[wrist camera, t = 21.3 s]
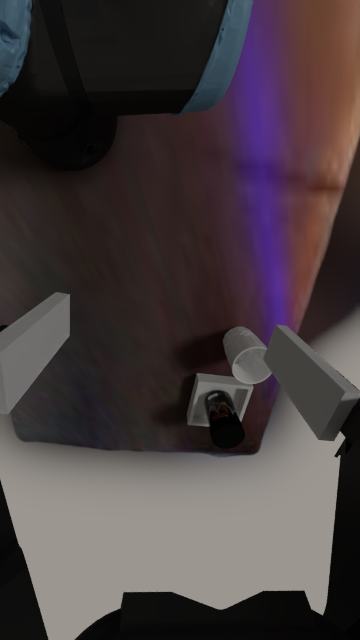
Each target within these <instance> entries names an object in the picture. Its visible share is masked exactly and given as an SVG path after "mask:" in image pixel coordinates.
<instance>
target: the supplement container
mask: <svg viewBox="0 0 360 640" xmlns="http://www.w3.org/2000/svg"><path fill="white" fill-rule="evenodd" d="M204 406H205V410H206V415H207V419H208V424H209V429H210V434H211V438H212V442H213V444H214V445H215V446H217V447H219V448H223V449H228V448H233V447H235V446H237V445H239V444H240V443H241V442H242V441H243V440H244V438H245V432H244V429H243V426H242V424H241V421H240V419H239V416H238V413H237V411H236V408H235V406H234V403H233V400H232V398H231V396H230V394H228V393H227V392H225V391H222V390H216V391H213V392H211V393H209V394H208V395H207V396H206V398H205V400H204Z"/></svg>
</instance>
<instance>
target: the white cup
mask: <svg viewBox="0 0 360 640" xmlns="http://www.w3.org/2000/svg"><path fill="white" fill-rule="evenodd" d="M223 346H224V349H225V353H226V356H227V359H228V362H229V365H230V367H231V370H232V373H233V375H234V377H235V378H236V379H237V380H238V381H240V382H242V383H245V384H256V383H259V382H262V381H264V380H265V379H267V378H268V377H269V376H270V375H271V373H272V372H271V371H270V369H269V368H268V366H267V365H266V363H265V362H264V360H263V358H264V355H265V353H266V350H267V347H266V346H265V345H264V344H263V343H262V342H261V341H260V340H259V339H258V338H257V337H256V336H255V335H254V334H253V333H252V332H251V331H250V330H249V329H247V328H245V327H235V328H232V329H230V330H229V331H228V332H227V333H226V334H225V336H224V338H223Z"/></svg>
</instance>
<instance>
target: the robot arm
mask: <svg viewBox="0 0 360 640" xmlns="http://www.w3.org/2000/svg"><path fill="white" fill-rule="evenodd" d="M252 4H253V0H0V120H1V121H3V122H4V123H6V124H8V125H9V126H11V127H12V129H13V131H14V132H15V134H16V135H17V137H18V138H19V139H20V141H21V142H22V143H23V144H24V145H25V146H26V147H27V148H28V149H29V150H30V151H31V152H32V153H33V154H35V155H36V156H37V157H39V158H40V159H42V160H44V161H45V162H47V163H49V164H51V165H53V166H56V167H59V168H62V169H67V170H81V169H85V168H88V167H91V166H93V165H94V164H96V163H97V162H99V161H100V160H101V159H102V158H103V157H104V156H105V155H106V153H107V152H108V150H109V149H110V147H111V145H112V142H113V140H114V137H115V133H116V127H117V116H121V115H142V114H164V113H172V115H174V116H180V115H182V114H184V113H187V112H197V111H205V110H208V109H210V108H212V107H213V106H215V104H217V103H218V102H219V101H220V100H221V99H222V97H223V96H224V94H225V93H226V91H227V89H228V87H229V85H230V83H231V80H232V78H233V75H234V73H235V70H236V67H237V64H238V61H239V58H240V55H241V51H242V47H243V44H244V40H245V36H246V32H247V28H248V23H249V19H250V14H251V9H252ZM69 329H70V294H64V293H57V292H56V293H54V294H53V295H52V296H50V297H49V298H47V299H46V300H45V301H43V302H42V303H40V304H39V305H38V306H36V307H35V308H34V309H32V310H31V311H29V312H28V313H27V314H25V315H24V316H22V317H21V318H20V319H18V320H17V321H15V322H14V323H13V324H11V325H10V326H8V325H2V326H0V414H6V415H8V414H9V412H10V411H11V410H12V409H13V407H14V406H15V405H16V403H17V402H18V401H19V400H20V398H21V397H22V396H23V394H24V393H25V392H26V391H27V389H28V388H29V387H30V385H31V384H32V383H33V382H34V380H35V379H36V378H37V376H38V375H39V374H40V373H41V371H42V370H43V369H44V367H45V366H46V365H47V364H48V362H49V361H50V360H51V358H52V357H53V356H54V355H55V353H56V352H57V351H58V350H59V348H60V347H61V346H62V344H63V343H64V342H65V341H66V339H67V338H68V337H69ZM263 360H264V362H265V363H266V365H267V366H268V368H269V369H270V371H271V372H272V373H273V375H274V376H275V378H276V379H277V381H278V382H279V383H280V385H281V386H282V388H283V389H284V391H285V392H286V394H287V395H288V396H289V398H290V399H291V401H292V402H293V404H294V405H295V406H296V408H297V409H298V411H299V412H300V414H301V415H302V416H303V418H304V419H305V421H306V422H307V424H308V425H309V426H310V428H311V429H312V431H313V432H314V434H315V435H316V437H317V438H318V439H319V440H327V441H334V440H335V438H336V437H337V434H338V433H339V431H341V433H342V434H343V435H344V436H345V437H346V438H345V440H344V441H343V443H342V445H341V446H340V448H339V449H338V451H337V453H336V454H335V457H338V456H339V455H341V458H340V468H339V478H338V489H337V500H336V511H335V523H334V533H333V544H332V554H331V565H330V575H329V586H328V597H327V604H326V608H325V611H324V614H323V615H321V614H319V613H317V612H315V611H313V610H311V607H310V605H309V602H308V600H307V597H306V594H305V591H262V592H260V593H258V594H256V595H254V596H252V597H250V598H248V599H246V600H243V601H241V602H239V603H237V604H235V605H233V606H230V607H228V608H226V609H223V610H218V609H215V608H213V607H210V606H207V605H204V604H202V603H199V602H197V601H194V600H192V599H189V598H186V597H184V596H181V595H178V594H175V593H173V592H124V593H123V598H122V604H121V608H120V609H118V610H116V611H113V612H111V613H109V614H107V615H105V616H103V617H102V618H100V619H99V620H97V621H95V622H94V623H93V624H92V625H90V626H89V627H88V628H87V629H86V630H84V631H83V632H82V633H81V634H80V635H79V636H78V637H77V638H76V639H75V640H360V391H359V390H358V389H357V388H356V387H355V386H354V385H353V384H351V383H350V382H349V381H348V380H347V379H345V377H344V376H342V375H341V374H340V373H339V372H338V371H337V370H335V369H334V368H333V367H332V366H331V365H329V364H328V363H327V362H326V361H325V360H324V359H323V358H322V357H320V356H319V355H318V354H317V353H316V352H315V351H314V350H312V349H311V348H310V347H309V346H308V345H307V344H306V343H305V342H304V341H303V340H301V339H300V338H299V337H298V336H297V335H296V334H295V333H294V332H293V331H291V330H290V329H289V328H288V327H287V326H282V325H275V328H274V331H273V334H272V336H271V339H270V342H269V344H268V347H267V350H266V353H265V355H264V358H263ZM0 640H48V636H47V633H46V630H45V626H44V623H43V619H42V615H41V612H40V608H39V605H38V602H37V598H36V595H35V591H34V588H33V584H32V581H31V577H30V574H29V571H28V567H27V564H26V560H25V557H24V554H23V551H22V549H21V547H20V546H19V544H18V541H17V537H16V534H15V530H14V527H13V523H12V520H11V516H10V513H9V509H8V506H7V502H6V498H5V495H4V492H3V488H2V485H1V481H0Z"/></svg>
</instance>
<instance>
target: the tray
mask: <svg viewBox="0 0 360 640" xmlns="http://www.w3.org/2000/svg"><path fill="white" fill-rule="evenodd" d="M216 390H222V391H225V392H227V393H228V394H230V396H231V398H232V400H233V403H234V406H235V408H236V411H237V413H238V416H239V419H240V421H242V418H243V415H244V412H245V409H246V407H247V404H248V401H249V398H250V395H251V393H252V390H253V385H252V384H245V383H242V382H240V381H238V380H237V379H236V378H235V377H228V376H219V375H210V374H201V373H197V374H196V379H195V383H194V387H193V391H192V395H191V399H190V403H189V407H188V412H187V423H188V425H196V426H209V424H208V419H207V415H206V410H205V406H204V400H205V398H206V396H207V395H208V394H209V393H211V392H213V391H216Z"/></svg>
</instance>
